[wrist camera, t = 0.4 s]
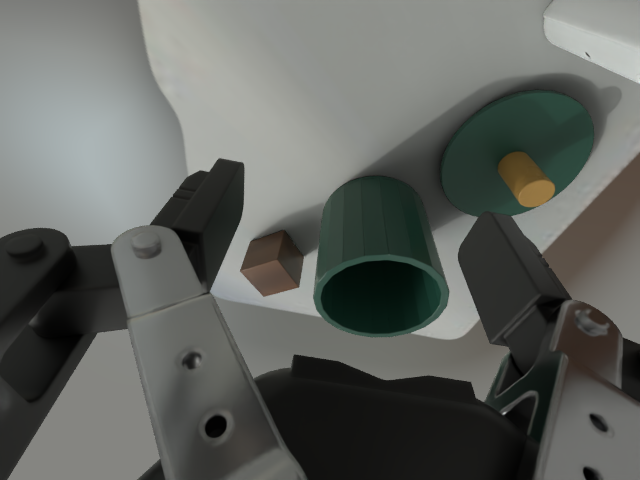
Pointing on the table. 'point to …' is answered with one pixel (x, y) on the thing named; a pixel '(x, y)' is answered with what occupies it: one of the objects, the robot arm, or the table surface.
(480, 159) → the lid
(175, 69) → the table surface
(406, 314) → the tin
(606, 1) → the photo printer
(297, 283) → the block
